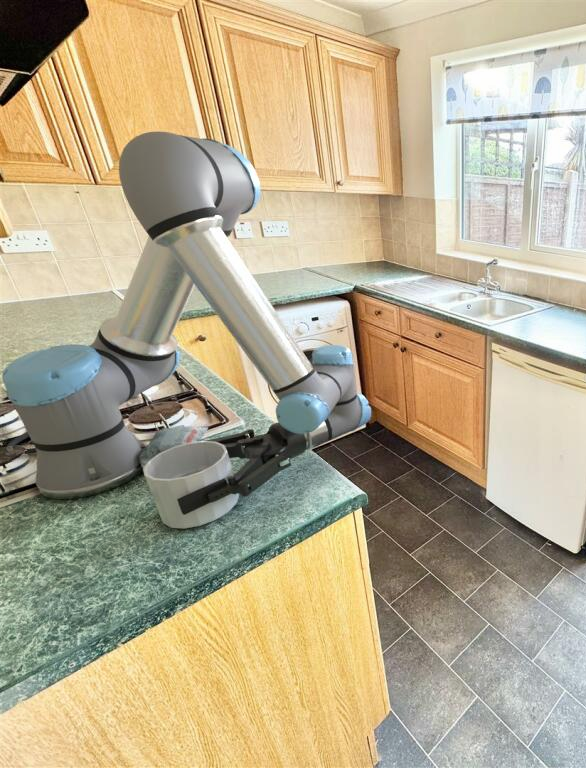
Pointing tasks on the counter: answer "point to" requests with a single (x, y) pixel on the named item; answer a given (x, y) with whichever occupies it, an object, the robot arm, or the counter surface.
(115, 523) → the counter surface
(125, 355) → the robot arm
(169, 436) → the packaged food
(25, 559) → the counter surface
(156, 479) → the grey faceted pot
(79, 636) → the counter surface
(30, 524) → the counter surface
